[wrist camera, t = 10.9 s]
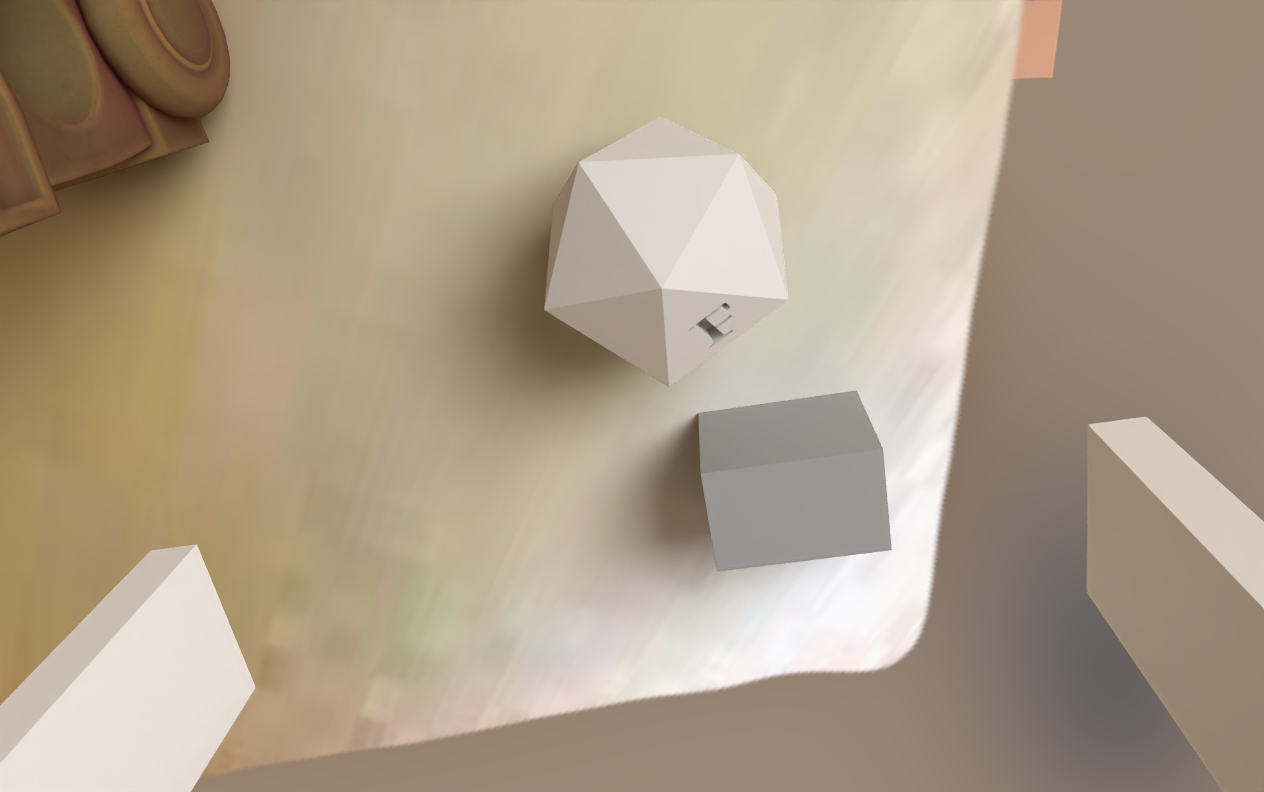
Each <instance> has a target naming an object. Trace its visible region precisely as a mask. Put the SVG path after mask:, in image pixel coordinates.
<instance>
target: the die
mask: <svg viewBox="0 0 1264 792" xmlns="http://www.w3.org/2000/svg"><path fill="white" fill-rule="evenodd" d="M788 300H789V298H788V289H787V281H786V272H785V263H784V255H783V246H782V237H781V228H780V220H779V211H778V202H777V195H776V194H775V193H774V192H773V191H772V189H771V188H770V187H769V186H768V185H767V184H766V183H765V182H764V181H763V180H762V178H761V177H760V176H759V175H758V174H757V173H756V172H755V171H754V170H753V169H752V167H751V166H750V165H749V164H748V163H747V162H746V161H745V160H744V159H743V158H742V156H741V155H740V154H738V153H736V152H734V151H732V150H730V149H728V148H726V147H724V146H721V145H719V144H717V143H715V142H713V141H711V140H709V139H707V138H705V137H703V136H700V135H698V134H696V133H694V132H692V131H690V130H688V129H686V128H684V127H682V126H679V125H677V124H675V123H673V122H671V121H669V120H667V119H665V118H663V117H658V118H656V119H655V120H653V121H651V122H649V123H648V124H646V125H644V126H642V127H640V128H639V129H637V130H635V131H633V132H632V133H630V134H628V135H626V136H624V137H623V138H621V139H619V140H617V141H616V142H614V143H612V144H610V145H608V146H607V147H605V148H603V149H601V150H600V151H598V152H596V153H594V154H592V155H591V156H589V157H587V158H585V159H584V160H582V161H580V162H579V163H578V164H577V166H576V168H575V169H574V171H573V173H572V175H571V176H570V178H569V180H568V181H567V183H566V185H565V187H564V188H563V190H562V192H561V193H560V195H559V197H558V199H557V200H556V202H555V204H554V205H553V213H552V225H551V236H550V247H549V259H548V270H547V281H546V293H545V304H544V310H545V311H547V312H548V313H550V314H552V315H553V316H555V317H556V318H558V319H560V320H561V321H563V322H564V323H566V324H568V325H569V326H571V327H573V328H574V329H576V330H577V331H579V332H581V333H582V334H584V335H585V336H587V337H589V338H590V339H592V340H594V341H595V342H597V343H598V344H600V345H602V346H603V347H605V348H606V349H608V350H610V351H611V352H613V353H615V354H616V355H618V356H619V357H621V358H623V359H624V360H626V361H628V362H629V363H631V364H632V365H634V366H636V367H637V368H639V369H640V370H642V371H644V372H645V373H647V374H649V375H650V376H652V377H653V378H655V379H657V380H658V381H660V382H661V383H663V384H665V385H666V386H668V387H670V386H671V385H673V384H674V383H676V382H677V381H678V380H680V379H681V378H682V377H684V376H685V375H686V374H688V373H689V372H691V371H692V370H693V369H695V368H696V367H697V366H699V365H700V364H702V363H703V362H704V361H706V360H707V359H708V358H710V357H711V356H712V355H714V354H715V353H717V352H718V351H719V350H721V349H722V348H723V347H725V346H726V345H727V344H729V343H730V342H732V341H733V340H734V339H736V338H737V337H738V336H740V335H741V334H743V333H744V332H745V331H747V330H748V329H749V328H751V327H752V326H753V325H755V324H756V323H758V322H759V321H760V320H762V319H763V318H764V317H766V316H767V315H768V314H770V313H771V312H773V311H774V310H775V309H777V308H778V307H779V306H781V305H782V304H784V303H785V302H786V301H788Z"/></svg>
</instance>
